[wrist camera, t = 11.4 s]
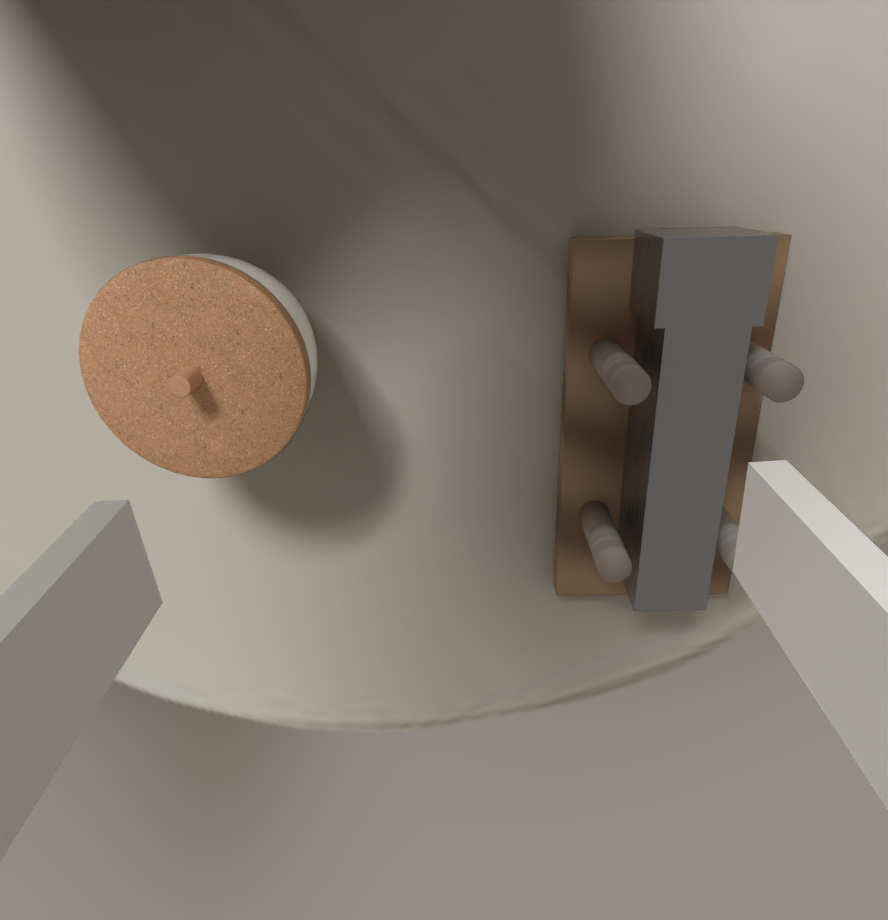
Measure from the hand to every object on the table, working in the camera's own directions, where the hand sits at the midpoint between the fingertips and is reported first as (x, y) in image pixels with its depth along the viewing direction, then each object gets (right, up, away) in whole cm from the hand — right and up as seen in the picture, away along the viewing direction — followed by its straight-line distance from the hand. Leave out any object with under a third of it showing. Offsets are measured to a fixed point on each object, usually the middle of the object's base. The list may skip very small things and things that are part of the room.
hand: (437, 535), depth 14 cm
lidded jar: (-11, +9, +24) cm, 28 cm away
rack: (+13, +4, +25) cm, 28 cm away
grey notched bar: (+13, +4, +23) cm, 27 cm away
